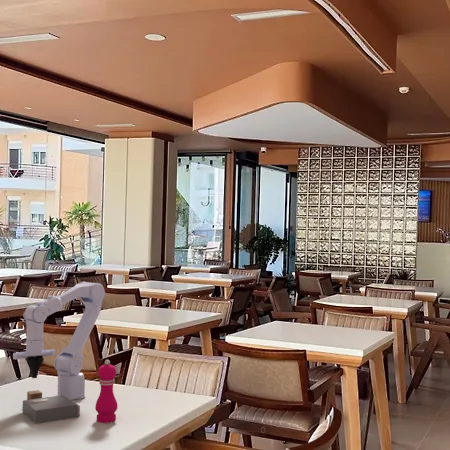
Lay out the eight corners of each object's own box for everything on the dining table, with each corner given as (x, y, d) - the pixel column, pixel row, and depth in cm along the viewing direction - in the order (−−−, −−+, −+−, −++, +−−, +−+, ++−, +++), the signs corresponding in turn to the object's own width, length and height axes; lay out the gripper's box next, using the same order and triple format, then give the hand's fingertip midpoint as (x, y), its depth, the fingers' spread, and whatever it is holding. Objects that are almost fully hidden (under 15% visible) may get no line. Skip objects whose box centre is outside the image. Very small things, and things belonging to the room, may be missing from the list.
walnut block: (38, 404, 234) (38, 390, 234) (41, 406, 230) (42, 392, 230) (27, 405, 231) (27, 391, 231) (30, 408, 228) (30, 394, 228)
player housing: (62, 407, 230) (62, 394, 230) (77, 417, 219) (77, 404, 219) (22, 412, 223) (22, 400, 223) (35, 423, 211) (35, 409, 211)
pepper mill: (93, 418, 218) (94, 358, 218) (114, 416, 221) (115, 357, 221) (97, 424, 211) (98, 362, 211) (119, 422, 214) (120, 361, 214)
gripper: (50, 336, 239) (50, 373, 239) (10, 339, 231) (10, 377, 231) (57, 339, 233) (56, 377, 233) (16, 342, 225) (16, 381, 225)
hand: (34, 377), depth 232 cm, fingers closed
